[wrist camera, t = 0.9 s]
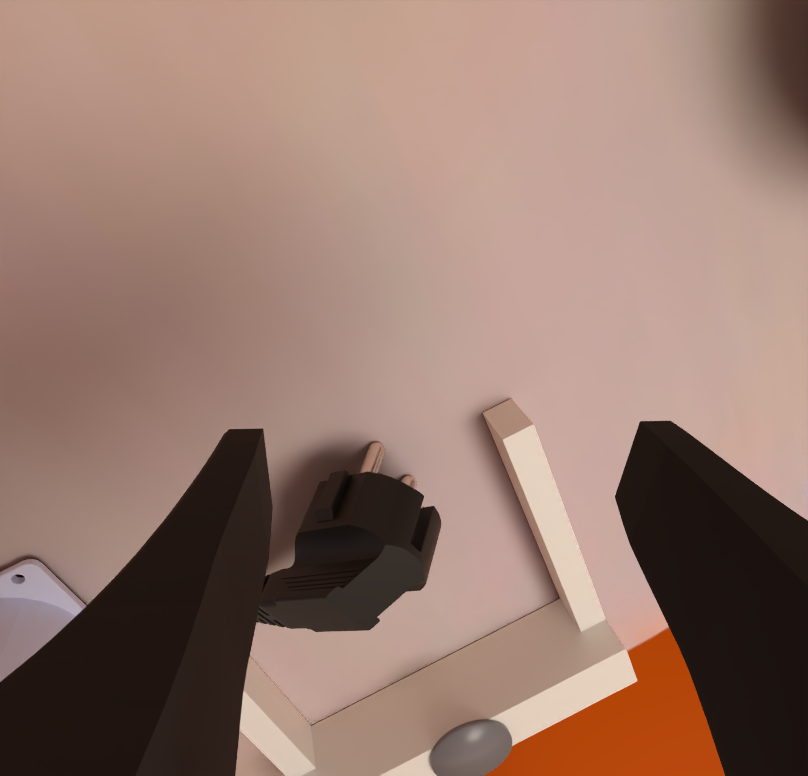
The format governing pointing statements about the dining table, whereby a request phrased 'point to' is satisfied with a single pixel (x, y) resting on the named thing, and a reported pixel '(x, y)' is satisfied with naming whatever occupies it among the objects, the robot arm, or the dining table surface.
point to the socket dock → (467, 666)
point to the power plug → (354, 552)
